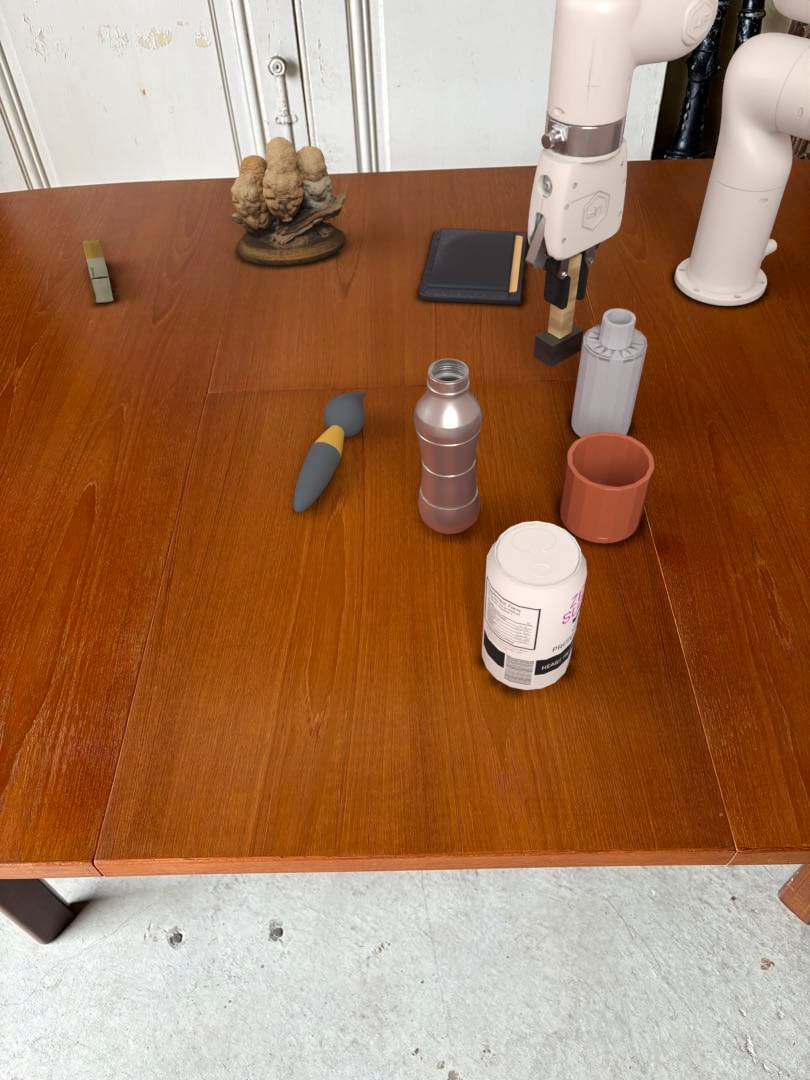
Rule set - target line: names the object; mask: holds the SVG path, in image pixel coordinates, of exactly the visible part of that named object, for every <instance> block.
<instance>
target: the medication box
mask: <svg viewBox="0 0 810 1080" xmlns="http://www.w3.org/2000/svg"><path fill="white" fill-rule="evenodd" d="M82 246H83V252H84V256H85V257H84V258H85V262H86V265H87V270H88V275H89V279H90V283H91V289H92V293H93V297H94V301H95V303H96V304H108V303H112V302H114V296H113V290H112V285H111V279H110V275H109V271H108V268H107V264H106V259H105V256H104V252H103V248H102V244H101V240H100V239H91V240H83V241H82Z"/></svg>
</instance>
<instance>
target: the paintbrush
mask: <svg viewBox="0 0 810 1080" xmlns="http://www.w3.org/2000/svg"><path fill="white" fill-rule="evenodd" d="M366 392H367V391H350V392H349V391H348V392H344V393H341V394H338V395H335V396H334V397H333V398H331V399H330V400H329V401H328V402H327V403H326V405H325V407H324V410H323V422H324V426H325V427H326V430H325V431H323V433H322V434H321V435H320V436H319V437H318V438H317V439H316V440H315V441H314V442H313V443H312V445H311V447H309V450H308V452H307V454H306V456H305V458H304V461H303V463H302V465H301V468H300V471H299V474H298V476H297V481H296V484H295V487H294V492H293V498H292V499H293V501H292V505H293V510H294V511H295V513H298V514H299V513H302V512H304V511H306V510H307V509H309V508H310V507H311V506H312V505H313V504H314V503H315V502H316V501H317V499H319V497H320V495H322V493H323V492H324V490H325V489H326V488H327V486H328V484H329V483H330V482H331V479H332V478H333V476H334V475H335V472H336V471H337V469H338V467H339V464H340V462H341V458H342V454H343V450H344V449H343V448H344V441H345V438H352V437H354V436H356V435H357V434H359V432H361V430H363V428H364V426H365V423H366V410H365V406H364V403H363V399H364V397H365V395H366Z"/></svg>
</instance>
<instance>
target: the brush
mask: <svg viewBox="0 0 810 1080" xmlns="http://www.w3.org/2000/svg"><path fill="white" fill-rule="evenodd" d="M581 257H582V254H580V253H578V254H576V255H574V256H572V257H570V259H569V267H568V273H567V275H568V276H570V277H571V282H570V290H569V298H568V305H567V308H565V309H563V310H561V309H559V308H558V307H556V306H554V305H552V304H551V303H550V306H549V307H550V308H549V318H548V328H546V329H544V330H542V331H540V332H538V333H537V334H535V335H534V336H535V337H534V344H533V345H534V347H533V358H535V359H537V360H538V361H540V362H541V363H543V364H545V365H547V366H548V367H550V368H553V367H554V366H557V365H558V364H560V363H561V362H564V361H565V360H568V359H569V358H571V357H572V356H574V355H576V354H578V353H581V350H582V344H583V337H584V329H583V328H581V327H579V326H578V325H576V324H574V317H575V310H576V301H577V299H576V294H577V287H578V279H579V272H580V265H581ZM555 260H556V259H555ZM556 261H557V262H558V260H556Z"/></svg>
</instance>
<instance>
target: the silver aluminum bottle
mask: <svg viewBox="0 0 810 1080" xmlns="http://www.w3.org/2000/svg"><path fill="white" fill-rule="evenodd" d="M469 377H470V371H469V367H468V365H467V364H466V363H465V362H464V361H462V360H460V359H456V358H441V359H437V360H435V361H434V362H432V363H431V364H430V365H429V367H428V370H427V380H426V389H427V390H425V392H424V394H423V395H422V396H421V397H420V398H419V400H417V402H416V405H415V407H414V410H413V411H414V412H413V422H414V428H415V432H416V435H417V436H416V437H417V440H418V445H419V450H420V457H421V480H420V486H419V491H418V499H417V509H418V511H419V512H418V513H419V515H420V517H421V520H422V522H423V523H424V524H425V525H426V526H427V527H428V528H430V529H431V530H433V531H435V532H437V533H440V534H444V535H454V534H460V533H462V532H465V531H466V530H468V529H470V527H472V526H473V525H474V524H475V523H476V521H477V520H478V517H479V514H480V510H481V506H482V505H481V504H482V503H481V496H480V491H479V488H478V483H477V471H476V458H477V449H478V447H477V446H478V442H479V438H480V433H481V429H482V428H481V426H482V422H483V412H482V409H481V406H480V403H479V401H478V400H477V398H476V397H475V395H474V394H473V393H472V392H471V391H470V390H469V389H470V378H469Z"/></svg>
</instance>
